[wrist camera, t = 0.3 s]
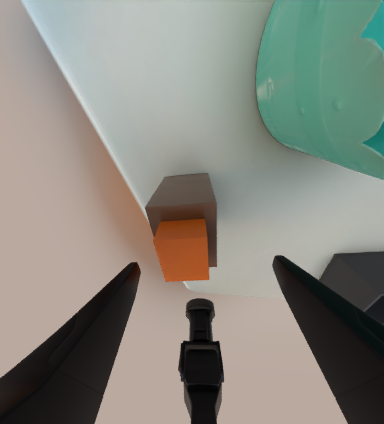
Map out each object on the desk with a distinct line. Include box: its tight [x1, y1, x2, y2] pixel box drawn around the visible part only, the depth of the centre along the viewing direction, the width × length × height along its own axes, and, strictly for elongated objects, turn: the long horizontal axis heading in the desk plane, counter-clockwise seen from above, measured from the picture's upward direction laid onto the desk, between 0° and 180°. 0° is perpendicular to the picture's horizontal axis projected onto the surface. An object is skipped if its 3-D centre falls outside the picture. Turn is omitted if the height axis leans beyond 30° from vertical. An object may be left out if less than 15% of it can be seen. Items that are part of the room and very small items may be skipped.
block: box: [153, 219, 209, 282], centre depth 12 cm, size 5×4×2 cm
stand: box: [145, 173, 217, 267], centre depth 17 cm, size 8×6×9 cm
